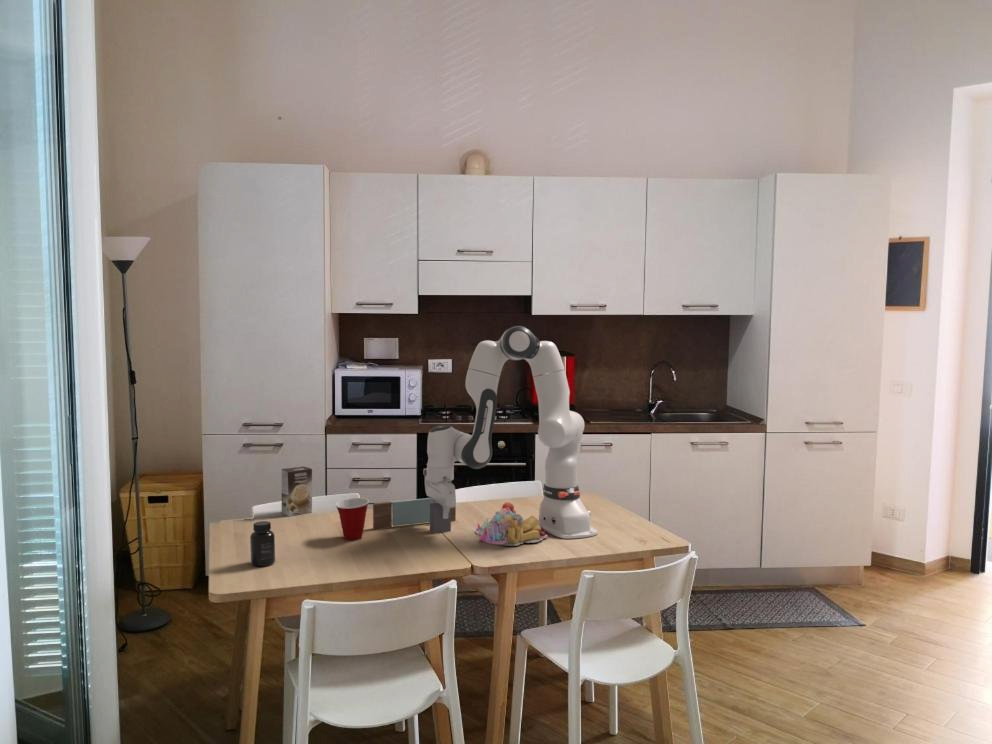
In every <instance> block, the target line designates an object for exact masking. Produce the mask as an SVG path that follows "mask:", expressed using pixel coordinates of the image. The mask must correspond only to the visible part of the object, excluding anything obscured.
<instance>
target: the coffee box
mask: <svg viewBox="0 0 992 744" xmlns="http://www.w3.org/2000/svg"><path fill="white" fill-rule="evenodd" d="M281 513H282V514H284V515H286V516H287V517H294V516H300V515H305V514H306V515H307V514H312V513H313V468H311V467H308V466H296V467H295V466H294V467H287V468H281Z"/></svg>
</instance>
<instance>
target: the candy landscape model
mask: <svg viewBox="0 0 992 744" xmlns="http://www.w3.org/2000/svg"><path fill="white" fill-rule="evenodd" d="M494 514H495V515H493V516H492V518H491V517H488V518H486V520H485V521H484V522H483V524H482V525H480V524H479V522H478V523H477V526H476V528H475V530H474V533H475V534H476V535H478V536H480V538H479V541H480V542H484V543H487V544H486V545H494V546H497V545H499V546H500V545H501V546H507V547H508V546H509V547H513V546H515V547H516V546H520V545H523V544H524V543H526V544H529V543H538V542H540V541H543V539H547V538H548V536H550V534H549V533H547V531H546V530H544V529H543V528H542V527H539V524H538V522H539V518H536V517H535V516H533V515H530V516H529V517H528V518H526V519H524V518H523V516H522V515H521V514H520V513H519V514H518V513H517V512H516V510H515V507H514V504H513V503H512V502H510V501H509V502H504V503H503V505H502V506H501V509H500V510H497V511H496V512H495V513H494ZM523 519H524V520H523Z"/></svg>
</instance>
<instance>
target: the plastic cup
mask: <svg viewBox="0 0 992 744" xmlns="http://www.w3.org/2000/svg"><path fill="white" fill-rule="evenodd" d="M369 503H370V500H369V499H368V498H365V497H353V498H345V499H340V500H338V501H337V502H335V504H334V506H335V507H336V509H337V512H338V515H339V519H340V526H341V529H342V535H343V539H345V540H347V541H357V540H361V539H362V538H363V533H364V530H365V521H366V516H367V511H368V505H369Z"/></svg>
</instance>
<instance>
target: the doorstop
mask: <svg viewBox="0 0 992 744" xmlns="http://www.w3.org/2000/svg"><path fill="white" fill-rule="evenodd" d="M442 513H443V506H442V505H440V504H439V503H431V504H430V522H429V531H430V532H432V534H441V533H446V532H447V533H448V532H451V531H452V521H451V508H450V511H449V513H448V519H443V518H442Z"/></svg>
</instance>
